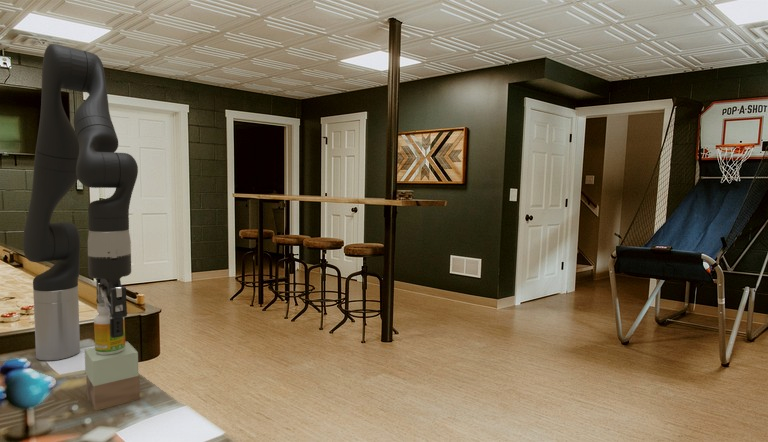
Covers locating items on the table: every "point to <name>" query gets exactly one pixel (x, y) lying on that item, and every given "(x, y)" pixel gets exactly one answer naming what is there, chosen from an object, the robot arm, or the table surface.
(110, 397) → the tower base
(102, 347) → the supplement bottle
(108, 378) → the tower top
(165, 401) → the table surface
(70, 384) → the table surface
